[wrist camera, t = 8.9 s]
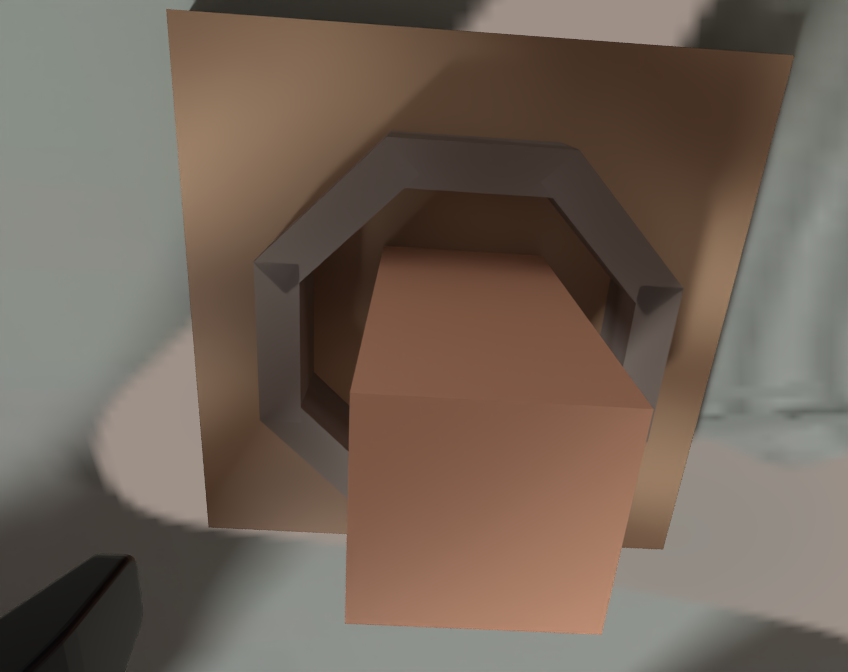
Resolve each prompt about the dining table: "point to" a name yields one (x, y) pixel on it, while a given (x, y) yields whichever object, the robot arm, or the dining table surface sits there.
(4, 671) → the robot arm
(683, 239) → the socket board
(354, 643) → the dining table surface
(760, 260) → the dining table surface
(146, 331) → the dining table surface
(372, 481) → the terracotta block
